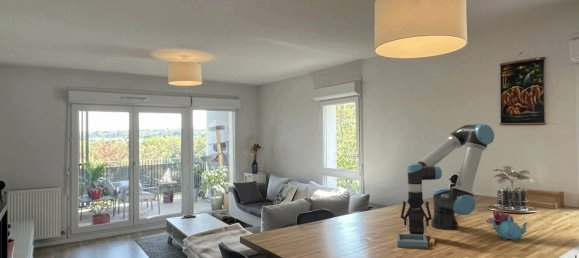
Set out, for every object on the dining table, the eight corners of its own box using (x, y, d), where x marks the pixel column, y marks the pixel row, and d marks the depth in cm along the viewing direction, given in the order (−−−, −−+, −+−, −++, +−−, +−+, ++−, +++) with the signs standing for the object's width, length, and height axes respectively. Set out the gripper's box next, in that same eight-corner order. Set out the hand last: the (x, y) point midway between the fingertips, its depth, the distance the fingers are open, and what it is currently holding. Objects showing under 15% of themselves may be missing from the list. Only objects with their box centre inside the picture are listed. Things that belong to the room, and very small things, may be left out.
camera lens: (406, 234, 200) (405, 208, 200) (420, 233, 201) (419, 207, 201) (412, 238, 192) (411, 210, 192) (427, 237, 193) (426, 210, 193)
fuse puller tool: (431, 239, 189) (430, 237, 189) (435, 240, 188) (435, 237, 188) (429, 245, 179) (429, 242, 179) (433, 245, 178) (433, 242, 178)
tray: (425, 240, 188) (424, 234, 188) (428, 248, 174) (427, 242, 174) (396, 238, 192) (396, 233, 192) (397, 246, 178) (397, 240, 178)
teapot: (530, 241, 182) (529, 221, 183) (508, 243, 180) (508, 223, 180) (510, 234, 195) (509, 216, 195) (489, 236, 192) (488, 218, 192)
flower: (481, 223, 209) (486, 208, 208) (488, 222, 220) (493, 207, 219) (509, 235, 199) (515, 218, 198) (514, 233, 209) (520, 217, 209)
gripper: (435, 190, 198) (436, 230, 197) (394, 189, 203) (396, 229, 203) (436, 192, 190) (438, 234, 190) (395, 191, 196) (396, 232, 196)
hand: (416, 231), depth 196 cm, fingers open, 9 cm apart
